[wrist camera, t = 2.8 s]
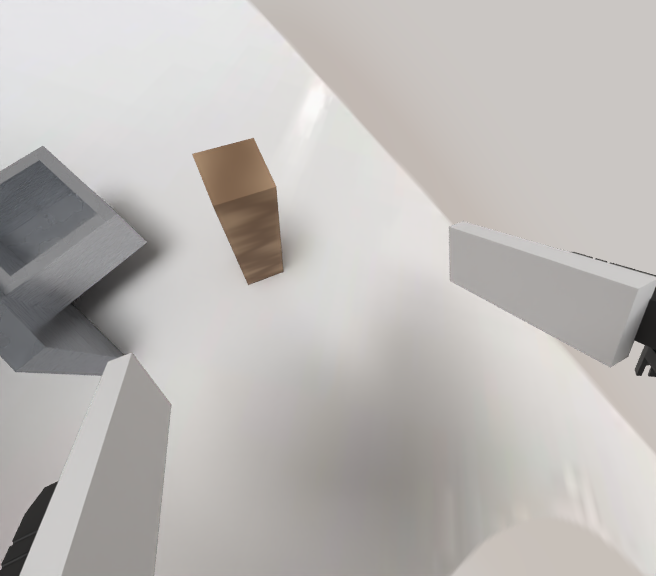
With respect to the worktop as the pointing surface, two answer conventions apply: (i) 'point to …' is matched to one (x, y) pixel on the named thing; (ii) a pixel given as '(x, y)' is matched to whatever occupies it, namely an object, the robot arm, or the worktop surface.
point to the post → (244, 205)
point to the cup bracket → (54, 266)
